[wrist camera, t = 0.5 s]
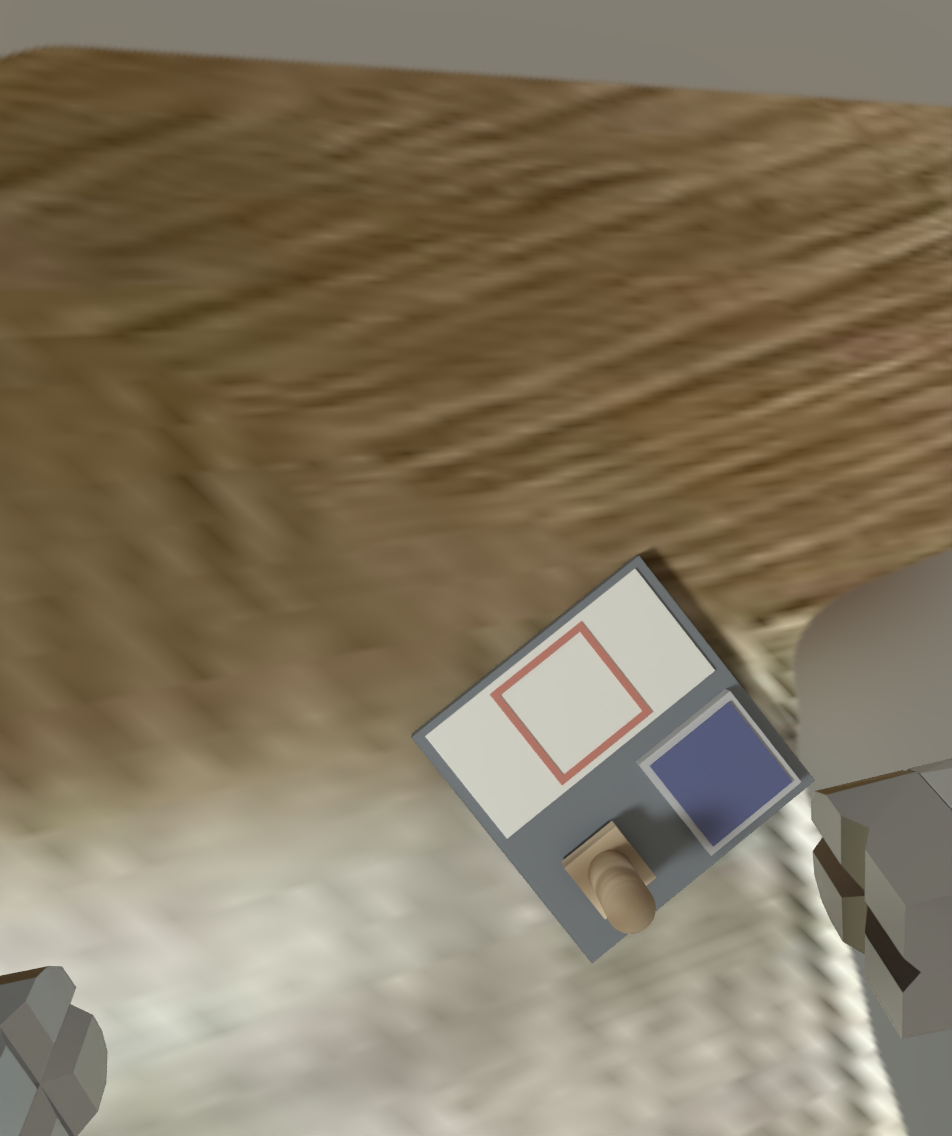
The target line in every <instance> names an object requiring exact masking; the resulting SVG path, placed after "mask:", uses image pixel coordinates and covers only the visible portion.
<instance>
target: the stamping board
mask: <svg viewBox="0 0 952 1136" xmlns="http://www.w3.org/2000/svg"><path fill="white" fill-rule="evenodd" d="M411 738H412V739H413V740H414V741H415V743H416V744H417V745H418V746H419V748H420V749H421V750H422V751H423V753H424V754H425V755H426V756H427V758H428V759H429V760H430V761H431V763H432V764H433V765H434V766H435V768H436V769H437V770H438V771H439V773H440V774H441V775H442V776H443V778H444V779H445V780H446V781H447V783H448V784H449V785H450V786H451V788H452V789H453V790H454V791H455V793H456V794H457V795H458V796H459V798H460V799H461V800H462V801H463V803H464V804H465V805H466V806H467V808H468V809H469V810H470V811H471V813H472V814H473V815H474V816H475V818H476V819H477V820H478V821H479V823H480V824H481V825H482V826H483V828H484V829H485V830H486V831H487V833H488V834H489V835H490V836H491V838H492V839H493V840H494V841H495V843H496V844H497V845H498V846H499V848H500V849H501V850H502V851H503V853H504V854H505V855H506V856H507V858H508V859H509V860H510V861H511V863H512V864H513V865H514V866H515V868H516V869H517V870H518V871H519V873H520V874H521V875H522V876H523V878H524V879H525V880H526V881H527V883H528V884H529V885H530V886H531V888H532V889H533V890H534V891H535V893H536V894H537V895H538V896H539V898H540V899H541V900H542V901H543V903H544V904H545V905H546V907H547V908H548V909H549V910H550V912H551V913H552V914H553V915H554V917H555V918H556V919H557V920H558V922H559V923H560V924H561V925H562V927H563V928H564V929H565V930H566V932H567V933H568V934H569V935H570V937H571V938H572V939H573V940H574V942H575V943H576V944H577V945H578V947H579V948H580V949H581V950H582V952H583V953H584V954H585V955H586V957H587V958H588V959H589V960H590V962H591V963H593V962H594V961H596V960H597V959H598V958H599V957H600V956H602V955H603V954H604V953H605V952H606V951H608V950H609V949H610V948H611V947H613V946H614V945H615V944H616V943H617V942H619V941H620V940H621V939H622V938H624V937H625V936H626V935H627V933H623V932H620V931H618V930H617V929H615V928H614V927H613V926H612V925H611V924H610V922H609V920H608V918H606V919H604V918H603V916H602V915H601V914H600V913H599V911H598V910H597V909H596V908H595V906H594V905H593V904H592V903H591V901H590V900H589V899H588V898H587V896H586V895H585V894H584V893H583V891H582V890H581V889H580V888H579V886H578V885H577V884H576V883H575V881H574V880H573V879H572V878H571V876H570V875H569V874H568V873H567V871H566V870H565V869H564V867H563V864H562V861H563V860H564V858H563V857H564V856H565V855H567V854H568V853H569V852H570V851H572V850H573V849H574V848H575V847H576V846H578V845H579V844H580V843H581V842H583V841H584V840H585V839H586V838H587V837H589V836H590V835H591V834H592V833H594V832H595V831H596V830H597V829H599V828H600V827H601V826H602V825H603V824H605V823H606V822H607V821H608V820H609V822H611V821H613V823H614V824H615V825H616V826H617V828H618V829H619V830H620V831H621V833H622V834H623V835H624V837H625V838H626V839H627V840H628V842H629V843H630V844H631V845H632V847H633V848H634V849H635V850H636V852H637V853H638V854H639V855H640V857H641V858H642V859H643V860H644V862H645V863H646V864H647V866H648V867H649V868H650V869H651V871H652V872H653V873H654V875H655V876H656V878H655V879H654V880H653V881H652V882H650V883H649V884H648V885H647V888H648V889H649V891H650V893H651V894H652V896H653V898H654V900H655V904H656V910H658V909H659V908H660V907H661V906H663V905H664V904H665V903H666V902H667V901H669V900H670V899H671V898H672V897H674V896H675V895H676V894H677V893H678V892H680V891H681V890H682V889H683V888H685V887H686V886H687V885H688V884H689V883H691V882H692V881H693V880H694V879H695V878H697V877H698V876H699V875H700V874H702V873H703V872H704V871H705V870H706V869H708V868H709V867H710V866H711V865H713V864H714V863H715V862H716V861H717V860H719V859H720V858H721V857H722V856H724V855H725V854H726V853H727V852H728V851H730V850H731V849H732V848H733V847H734V846H736V845H737V844H738V843H739V842H741V841H742V840H743V839H744V838H745V837H747V836H748V835H749V834H750V833H752V832H753V831H754V830H755V829H756V828H758V827H759V826H760V825H761V824H763V823H764V822H765V821H766V820H767V819H769V818H770V817H771V816H772V815H774V814H775V813H776V812H777V811H778V810H780V809H781V808H782V807H783V806H784V805H786V804H787V803H788V802H789V801H791V800H792V799H793V798H794V797H795V796H797V795H798V794H799V793H800V792H802V791H803V790H804V789H805V788H806V787H808V786H809V785H810V784H811V783H812V782H814V781H815V780H814V779H813V777H812V776H811V775H810V774H809V772H808V771H807V770H806V769H805V767H804V766H803V765H802V763H801V762H800V761H799V759H798V758H797V757H796V756H795V754H794V753H793V752H792V751H791V749H790V748H789V747H788V745H787V744H786V743H785V742H784V740H783V739H782V738H781V736H780V735H779V734H778V733H777V731H776V730H775V729H774V728H773V726H772V725H771V724H770V722H769V721H768V720H767V719H766V717H765V716H764V715H763V713H762V712H761V711H760V710H759V708H758V707H757V706H756V705H755V703H754V702H753V701H752V699H751V698H750V697H749V696H748V694H747V693H746V692H745V690H744V689H743V688H742V687H741V685H740V684H739V683H738V682H737V680H736V679H735V678H734V676H733V675H732V674H731V673H730V671H729V670H728V669H727V667H726V666H725V665H724V664H723V662H722V661H721V660H720V659H719V657H718V656H717V655H716V653H715V652H714V651H713V650H712V648H711V647H710V646H709V644H708V643H707V642H706V641H705V639H704V638H703V637H702V636H701V634H700V633H699V632H698V630H697V629H696V628H695V627H694V625H693V624H692V623H691V621H690V620H689V619H688V618H687V616H686V615H685V614H684V613H683V611H682V610H681V609H680V607H679V606H678V605H677V604H676V602H675V601H674V600H673V598H672V597H671V596H670V595H669V593H668V592H667V591H666V590H665V588H664V587H663V586H662V584H661V583H660V582H659V581H658V579H657V578H656V577H655V575H654V574H653V573H652V572H651V570H650V569H649V568H648V567H647V565H646V564H645V563H644V561H643V560H642V559H641V558H640V556H634V557H633V558H632V559H630V560H629V561H628V562H627V563H625V564H624V565H623V566H622V567H620V568H619V569H618V570H617V571H615V572H614V573H613V574H612V575H610V576H609V577H608V578H607V579H605V580H604V581H603V582H602V583H600V584H599V585H598V586H597V587H595V588H594V589H593V590H592V591H590V592H589V593H588V594H587V595H585V596H584V597H583V598H582V599H580V600H579V601H578V602H577V603H575V604H574V605H573V606H572V607H570V608H569V609H568V610H567V611H565V612H564V613H563V614H562V615H560V616H559V617H558V618H557V619H555V620H554V621H553V622H552V623H550V624H549V625H548V626H547V627H545V628H544V629H543V630H542V631H540V632H539V633H538V634H537V635H535V636H534V637H533V638H531V639H530V640H529V641H528V642H526V643H525V644H524V645H523V646H521V647H520V648H519V649H518V650H516V651H515V652H514V653H513V654H511V655H510V656H509V657H508V658H506V659H505V660H504V661H503V662H501V663H500V664H499V665H498V666H496V667H495V668H494V669H493V670H491V671H490V672H489V673H488V674H486V675H485V676H484V677H483V678H481V679H480V680H479V681H478V682H476V683H475V684H474V685H473V686H471V687H470V688H469V689H468V690H466V691H465V692H464V693H463V694H461V695H460V696H459V697H458V698H456V699H455V700H454V701H453V702H451V703H450V704H449V705H448V706H446V707H445V708H444V709H443V710H441V711H440V712H439V713H438V714H436V715H435V716H434V717H433V718H431V719H430V720H429V721H428V722H426V723H425V724H424V725H423V726H421V727H420V728H419V729H418V730H416V731H415V732H414V733H413V734H412V737H411Z"/></svg>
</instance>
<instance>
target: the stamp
mask: <svg viewBox="0 0 952 1136" xmlns="http://www.w3.org/2000/svg"><path fill="white" fill-rule="evenodd" d="M563 858H564V860H563V861H562V864H563V867H564V869H565V870H566V871H567V873H568V874H569V875H570V876H571V878H572V879H573V880H574V881H575V883H576V884H577V885H578V886H579V888H580V889H581V890H582V891H583V893H584V894H585V895H586V896H587V898H588V899H589V900H590V901H591V903H592V904H593V905H594V906H595V908H596V909H597V910H598V911H599V913H600V914H601V915H602V916H603V918H604V919H606V918H608V920H609V922H610V924H611V925H612V926H613V927H614V928H615V929H617V930H618V931H620V932H623V933H627V934H633V933H638V932H641V931H642V930H644V929H646V928H647V927H648V926H649V925H650V924H651V922H652V921H653V918H654V916H655V911H656V904H655V900H654V898H653V896H652V894H651V893H650V891H649V889H648V888H647V885H648V884H649V883H650V882H652V881H653V880H654V879H655V878H656V876H655V875H654V873H653V872H652V871H651V869H650V868H649V867H648V866H647V864H646V863H645V862H644V860H643V859H642V858H641V857H640V855H639V854H638V853H637V852H636V850H635V849H634V848H633V847H632V845H631V844H630V843H629V842H628V840H627V839H626V838H625V837H624V835H623V834H622V833H621V831H620V830H619V829H618V828H617V826H616V825H615V824H614V823H613V821H611V822H609V820H608V821H607V822H606V823H605V824H603V825H602V826H601V827H600V828H599V829H597V830H596V831H595V832H594V833H592V834H591V835H590V836H589V837H587V838H586V839H585V840H584V841H583V842H581V843H580V844H579V845H578V846H576V847H575V848H574V849H573V850H572V851H570V852H569V853H568V854H567V855H565V856H564V857H563Z"/></svg>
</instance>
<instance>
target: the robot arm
mask: <svg viewBox="0 0 952 1136" xmlns="http://www.w3.org/2000/svg"><path fill="white" fill-rule="evenodd" d="M811 818H812V821H813V823H814V824H815V826H816V827H817V829H818V830H819V832H820V834H821V835H822V839H821V840H820V842H819V843H818V845H817V846H816V847H815V849H814V850H813V862H814V875H815V879H816V882H817V886H818V889H819V893H820V897H821V900H822V903H823V905H824V907H825V909H826V911H827V914H828V916H829V918H830V920H831V922H832V924H833V926H834V927H835V929H836V931H837V932H838V934H839V936H840V938H841V939H842V941H843V942H844V943H846V944H848V945H849V946H851V947H853V948H855V949H856V950H858V951H860V952H862V953H863V954H865V979H866V981H867V983H868V984H869V986H870V988H871V989H872V991H873V992H874V994H875V996H876V997H877V999H878V1001H879V1002H880V1004H881V1006H882V1007H883V1009H884V1010H885V1012H886V1014H887V1015H888V1017H889V1019H890V1020H891V1022H892V1024H893V1025H894V1027H895V1029H896V1030H897V1032H898V1033H899V1035H900V1037H901V1038H902V1039H904V1038H909V1037H914V1036H920V1035H925V1034H930V1033H935V1032H940V1031H945V1030H950V1029H952V758H951V759H947V760H943V761H939V762H934V763H931V764H926V765H922V766H918V767H913V768H910V769H908V770H906V771H903V770H901V771H897V772H893V773H889V774H885V775H880V776H877V777H872V778H868V779H864V780H860V781H855V782H851V783H847V784H843V785H839V786H834V787H830V788H826V789H822V790H817V791H815V792H814V795H813V798H812V801H811ZM75 989H76V986H75V985H74V983H73V982H72V981H71V979H70V978H69V976H68V975H67V973H66V972H65V970H64V969H63V967H59V966H47V967H42V968H37V969H32V970H27V971H22V972H17V973H12V974H7V975H2V976H0V1136H78V1134H79V1133H80V1132H81V1131H82V1130H83V1128H84V1127H85V1126H86V1125H87V1124H88V1122H89V1121H90V1120H91V1119H92V1118H93V1117H94V1115H95V1114H96V1113H97V1112H98V1109H99V1106H100V1102H101V1099H102V1095H103V1092H104V1088H105V1085H106V1074H107V1048H106V1044H105V1040H104V1036H103V1033H102V1030H101V1028H100V1026H99V1025H98V1023H97V1021H96V1019H95V1018H94V1016H93V1015H92V1014H90V1013H88V1012H86V1011H83V1010H81V1009H79V1008H77V1007H75V1006H73V1005H71V1004H70V1003H71V1001H72V998H73V995H74V992H75Z"/></svg>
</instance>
